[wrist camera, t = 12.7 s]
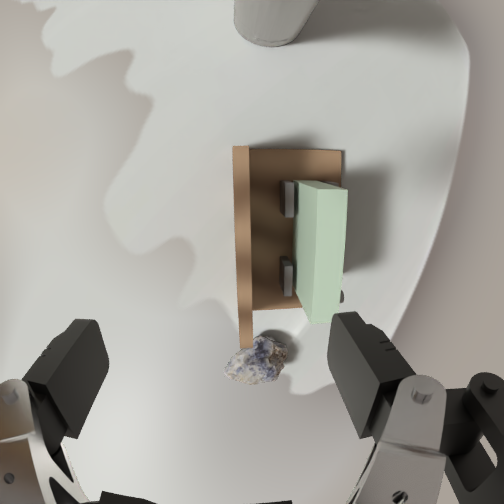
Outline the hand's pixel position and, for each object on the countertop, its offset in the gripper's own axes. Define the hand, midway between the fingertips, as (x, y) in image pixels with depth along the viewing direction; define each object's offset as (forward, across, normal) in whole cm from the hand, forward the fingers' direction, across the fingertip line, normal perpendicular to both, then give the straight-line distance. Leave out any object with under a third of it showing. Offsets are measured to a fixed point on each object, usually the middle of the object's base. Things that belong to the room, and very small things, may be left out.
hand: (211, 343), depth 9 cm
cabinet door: (+29, -10, +4) cm, 31 cm away
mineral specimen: (+30, -3, +24) cm, 39 cm away
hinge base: (+30, -8, +4) cm, 31 cm away
